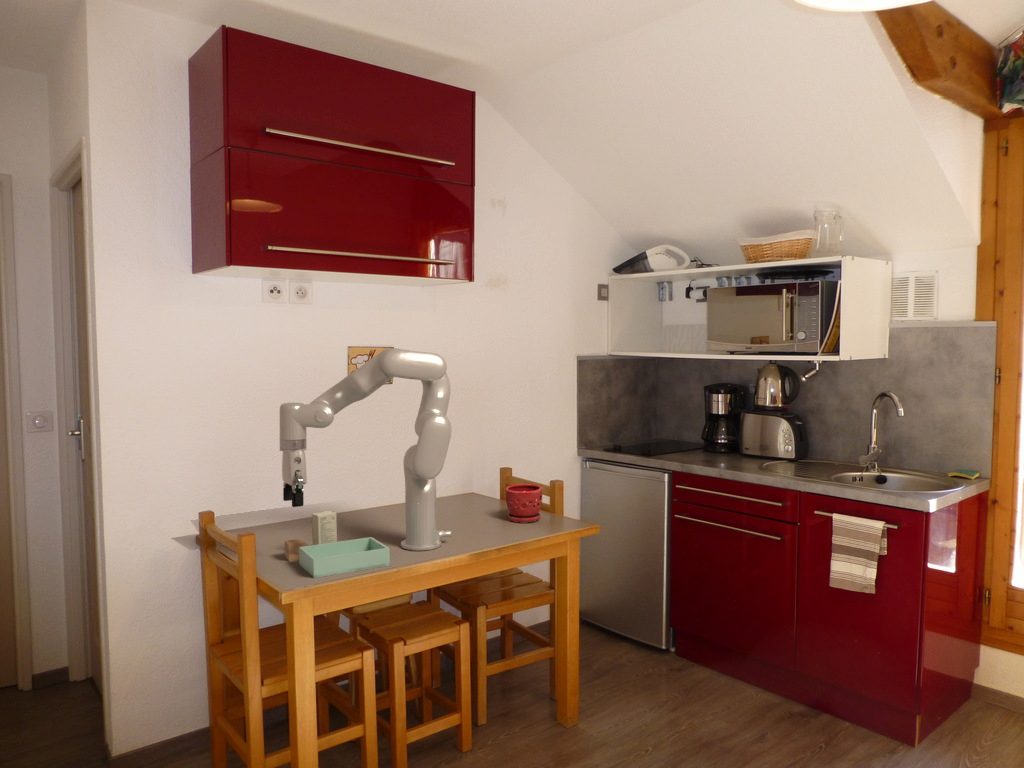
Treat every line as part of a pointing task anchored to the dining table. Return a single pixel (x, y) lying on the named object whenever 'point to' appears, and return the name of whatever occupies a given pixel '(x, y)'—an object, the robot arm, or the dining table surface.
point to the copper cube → (293, 549)
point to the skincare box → (324, 527)
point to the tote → (343, 557)
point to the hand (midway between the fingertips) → (293, 503)
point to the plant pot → (524, 502)
